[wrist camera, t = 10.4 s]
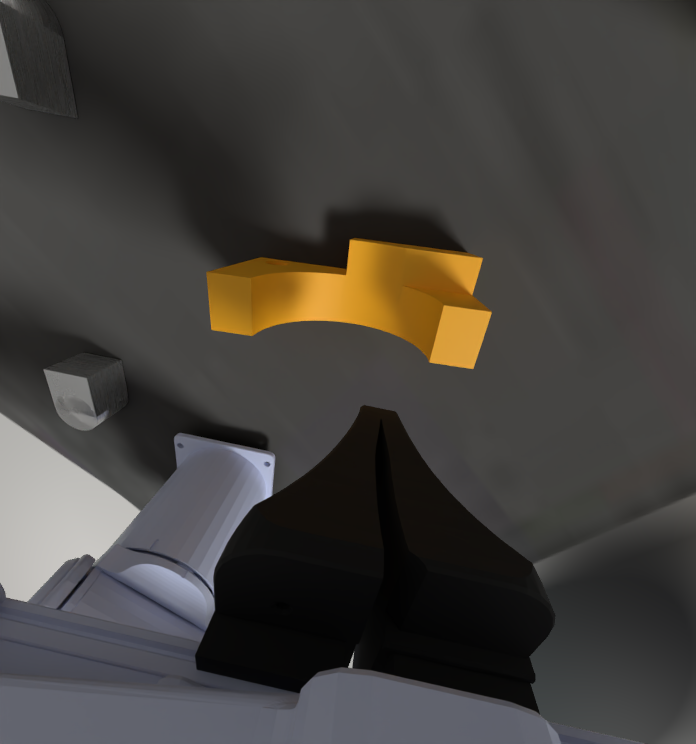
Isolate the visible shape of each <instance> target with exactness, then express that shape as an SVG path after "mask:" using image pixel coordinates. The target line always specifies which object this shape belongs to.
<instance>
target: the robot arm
mask: <svg viewBox="0 0 696 744" xmlns="http://www.w3.org/2000/svg"><path fill="white" fill-rule="evenodd" d="M174 444H175V453H176V462H177V470H176V471H175V472H174V473H173V474H172V475H171V477H170V478H169V479H168V480H167V481H166V483H165V484H164V485H163V486H162V487H161V488H160V490H159V491H158V492H157V493H156V494H155V495H154V497H153V498H152V499H151V500H150V501H149V502H148V504H147V505H146V506H145V507H144V508H143V510H142V511H141V512H140V513H139V514H138V515H137V517H136V518H135V519H134V520H133V521H132V523H131V524H130V525H129V526H128V527H127V528H126V530H125V531H124V532H123V533H122V534H121V535H120V537H119V538H118V539H117V540H116V541H115V542H114V544H113V545H112V546H111V547H110V548H109V549H108V551H106V553H105V554H103V555H102V556H101V557H100V558H99V559H98V560H97V561H96V562H95V559H94V558H93V557H91V556H90V555H88V554H86V555H83V556H82V557H81V558H76V559H72V560H68V561H66V562H65V563H64V564H63V565H62V566H61V567H60V568H59V569H58V570H57V572H55V574H54V575H53V576H52V577H51V578H50V579H49V580H48V581H47V582H46V583H45V584H44V585H43V586H42V587H41V588H40V589H39V590H38V591H37V593H35V595H33V597H32V598H31V599H30V600H29V601H28V602H23V601H18V600H14V599H10V598H6V595H5V591H4V589H3V587H2V585H1V584H0V744H646V743H641V742H637V741H632V740H628V739H624V738H619V737H615V736H610V735H606V734H602V733H597V732H593V731H589V730H584V729H580V728H575V727H570V726H567V725H562V724H557V723H553V722H549V721H546V720H545V719H544V718H543V717H542V716H540V713H539V710H538V706H537V704H536V700H535V697H534V694H533V691H532V687H531V684H530V683H532V684H533V683H534V682H535V673H534V670H533V667H532V664H531V661H530V658H529V656H530V655H531V654H532V653H533V652H534V651H535V650H536V649H537V648H538V646H539V645H540V644H541V643H542V642H543V641H544V640H545V639H546V638H547V637H548V635H549V633H550V631H551V630H552V628H553V627H554V623H555V613H554V611H553V609H552V606H551V604H550V601H549V599H548V597H547V594H546V592H545V589H544V587H543V584H542V582H541V580H540V578H539V576H538V574H537V572H536V570H535V568H534V566H533V564H532V563H531V562H530V561H528V560H527V559H526V558H525V557H523V556H522V555H521V554H519V553H518V552H517V551H515V550H514V549H513V548H511V547H510V546H509V545H507V544H506V543H505V542H503V541H502V540H501V539H500V538H498V537H497V536H496V535H495V534H493V533H492V532H491V531H490V530H489V529H488V528H487V527H485V526H484V525H483V524H482V523H481V522H480V521H478V520H477V519H476V518H475V517H474V516H473V515H472V514H471V513H470V512H469V511H468V510H467V509H466V508H465V507H464V506H463V505H462V504H461V503H460V502H459V501H458V500H457V499H456V498H455V497H454V496H453V495H452V494H451V493H450V492H449V491H448V490H447V489H446V488H445V487H444V485H443V484H442V483H441V482H440V481H439V479H438V478H437V477H436V476H435V475H434V473H433V472H432V471H431V469H430V468H429V467H428V465H427V464H426V463H425V461H424V460H423V458H422V457H421V455H420V454H419V452H418V451H417V449H416V447H415V446H414V444H413V442H412V441H411V439H410V437H409V436H408V434H407V432H406V430H405V428H404V426H403V424H402V422H401V420H400V418H399V416H398V414H397V413H396V412H395V411H390V410H385V409H380V408H375V407H370V406H366V405H364V406H362V407H361V408H360V412H359V414H358V416H357V418H356V420H355V422H354V423H353V425H352V426H351V428H350V429H349V431H348V432H347V433H346V435H345V436H344V437H343V438H342V440H341V441H340V442H339V443H338V444H337V446H336V447H335V448H334V449H333V450H332V451H331V452H330V453H329V454H328V455H327V456H326V457H325V458H324V459H323V460H322V461H321V462H320V463H318V464H317V465H316V466H315V467H314V468H313V469H311V470H310V471H309V472H308V473H306V474H305V475H304V476H302V477H301V478H299V479H298V480H296V481H295V482H293V483H292V484H290V485H289V486H287V487H286V488H284V489H283V490H281V491H280V492H278V493H276V494H274V495H272V491H273V478H274V466H275V455H274V454H273V453H272V452H270V451H265V450H260V449H256V448H251V447H246V446H241V445H237V444H232V443H227V442H222V441H217V440H213V439H208V438H203V437H198V436H194V435H189V434H184V433H178V434H177V435H176V436H175V437H174ZM267 462H269V463H267ZM94 562H95V563H94ZM93 563H94V564H93ZM353 653H354V659H353V668H348V666H349V663H350V661H351V658H352V655H353Z"/></svg>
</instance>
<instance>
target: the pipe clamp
mask: <svg viewBox="0 0 696 744" xmlns="http://www.w3.org/2000/svg"><path fill="white" fill-rule="evenodd" d="M482 260H483V258H481V257H478V256H475V255H472V254H470V253H466V252H458V251H451V250H443V249H436V248H428V247H420V246H413V245H405V244H398V243H390V242H382V241H375V240H367V239H360V238H353V239H351V240H350V245H349V254H348V264H347V269H343V268H336V267H329V266H321V265H314V264H307V263H299V262H292V261H285V260H278V259H270V258H263V257H260V258H256V259H252V260H249V261H245V262H241V263H238V264H234V265H230V266H227V267H223V268H219V269H216V270H212V271H208V272H207V284H208V295H209V306H210V318H211V329H212V330H216V331H223V332H230V333H236V334H243V335H250V336H253V335H254V334H256V333H257V332H259V331H261V330H263V329H265V328H268V327H271V326H274V325H278V324H283V323H288V322H296V321H313V320H319V321H338V322H346V323H353V324H359V325H364V326H368V327H372V328H376V329H380V330H383V331H386V332H389V333H391V334H394V335H396V336H399V337H401V338H403V339H405V340H407V341H409V342H410V343H412V344H413V345H415V346H416V347H418V348H419V349H420V350H421V351H422V352H423V353H424V354H425V355H426V357H427V358H428V360H429V362H430V363H436V364H443V365H450V366H456V367H463V368H470V369H473V368H474V365H475V362H476V359H477V356H478V353H479V350H480V347H481V344H482V341H483V338H484V335H485V332H486V329H487V326H488V323H489V320H490V317H491V313H492V312H491V311H490V310H489V309H488V308H487V307H485V306H484V305H483V304H482V303H481V302H479V301H478V300H477V299H476V298H475V297H473V296H472V294H473V290H474V287H475V284H476V280H477V277H478V273H479V270H480V267H481V263H482Z"/></svg>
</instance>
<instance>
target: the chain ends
mask: <svg viewBox="0 0 696 744" xmlns="http://www.w3.org/2000/svg"><path fill="white" fill-rule="evenodd" d="M0 101H2V102H5V103H8V104H11V105H15V106H18V107H21V108H24V109H29V110H34V111H40V112H45V113H50V114H56V115H61V116H67V117H72V118H78V116H77V110H76V104H75V99H74V93H73V88H72V82H71V77H70V71H69V66H68V60H67V55H66V49H65V43H64V38H63V33H62V30H61V27H60V24H59V22H58V19H57V17H56V15H55V14H54V12H53V10H52V9H51V8H50V6H49V5H48V4H47V3H46V1H45V0H0ZM43 370H44V373H45V376H46V379H47V382H48V386H49V389H50V392H51V395H52V398H53V402H54V405H55V408H56V411H57V413H58V415H59V416H60V417H61V419H62V420H63V421H64V422H66V423H67V424H68V425H70V426H71V427H73V428H75V429H78V430H83V431H88V430H91V429H93V428H94V427H96V426H97V425H99V424H100V423H102V422H103V421H104V420H106V419H107V418H109V417H110V416H112V415H113V414H114V413H116V412H117V411H119V410H120V409H122V408H123V407H124V406H126V405H127V403H128V393H127V387H126V382H125V376H124V371H123V365H122V360H119V359H114V358H109V357H104V356H99V355H94V354H89V353H84V352H83V353H80V354H78V355H76V356H73V357H71V358H69V359H66V360H64V361H61V362H59V363H57V364H54V365H52V366H50V367H47V368H45V369H43Z"/></svg>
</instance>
